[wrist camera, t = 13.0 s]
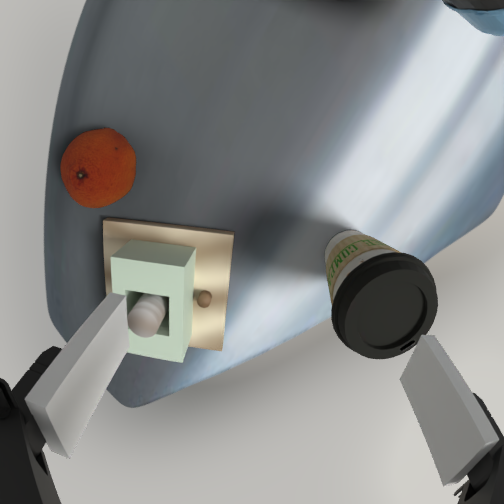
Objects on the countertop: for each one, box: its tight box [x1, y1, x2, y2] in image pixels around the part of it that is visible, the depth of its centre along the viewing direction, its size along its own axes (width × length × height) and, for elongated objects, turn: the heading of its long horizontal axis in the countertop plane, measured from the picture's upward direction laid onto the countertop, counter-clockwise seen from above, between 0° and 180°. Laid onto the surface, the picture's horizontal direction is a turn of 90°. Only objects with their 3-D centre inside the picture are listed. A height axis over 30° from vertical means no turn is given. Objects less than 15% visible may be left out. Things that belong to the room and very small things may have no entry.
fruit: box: [61, 128, 136, 208], centre depth 31 cm, size 9×9×8 cm
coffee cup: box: [325, 230, 438, 359], centre depth 30 cm, size 10×10×15 cm
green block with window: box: [111, 239, 196, 363], centre depth 35 cm, size 12×8×6 cm, turn 173°
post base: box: [103, 217, 234, 351], centre depth 35 cm, size 16×16×10 cm
